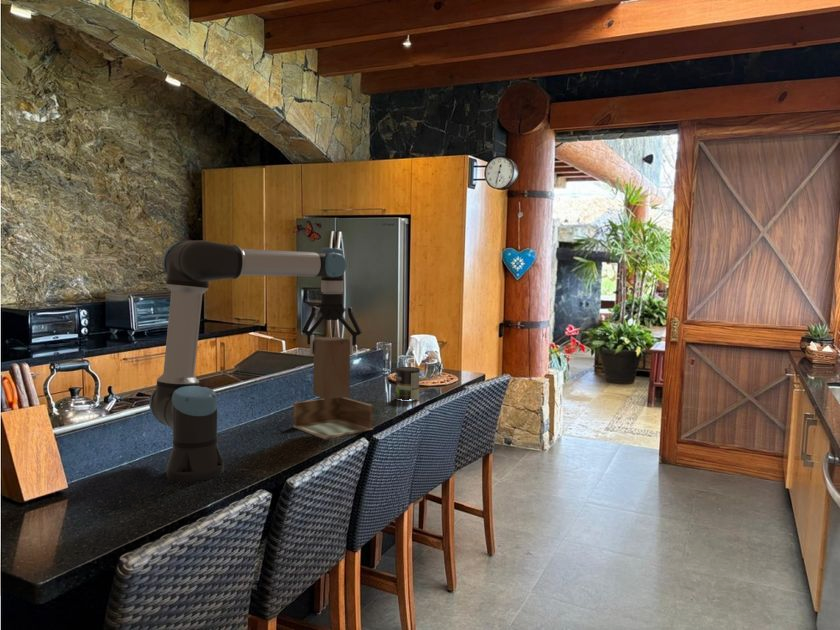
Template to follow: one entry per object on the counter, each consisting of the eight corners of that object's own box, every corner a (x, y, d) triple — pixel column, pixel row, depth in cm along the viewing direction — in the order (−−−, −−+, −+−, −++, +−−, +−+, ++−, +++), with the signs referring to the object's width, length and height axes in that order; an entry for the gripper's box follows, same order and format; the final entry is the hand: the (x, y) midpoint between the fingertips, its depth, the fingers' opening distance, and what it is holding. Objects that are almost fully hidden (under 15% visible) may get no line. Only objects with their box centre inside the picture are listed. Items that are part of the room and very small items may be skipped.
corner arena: (325, 439, 212) (325, 413, 211) (293, 427, 227) (293, 402, 226) (372, 430, 225) (373, 405, 225) (340, 419, 240) (340, 395, 240)
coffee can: (399, 404, 269) (399, 370, 268) (392, 399, 279) (393, 366, 278) (422, 402, 272) (422, 370, 271) (415, 398, 282) (415, 366, 281)
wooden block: (350, 397, 220) (351, 339, 219) (323, 400, 215) (323, 340, 213) (338, 392, 229) (339, 336, 227) (312, 394, 223) (312, 337, 222)
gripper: (369, 293, 223) (369, 353, 224) (298, 291, 224) (298, 352, 226) (366, 294, 215) (366, 356, 217) (293, 292, 216) (293, 355, 218)
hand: (331, 354), depth 221 cm, fingers closed on wooden block, 13 cm apart
